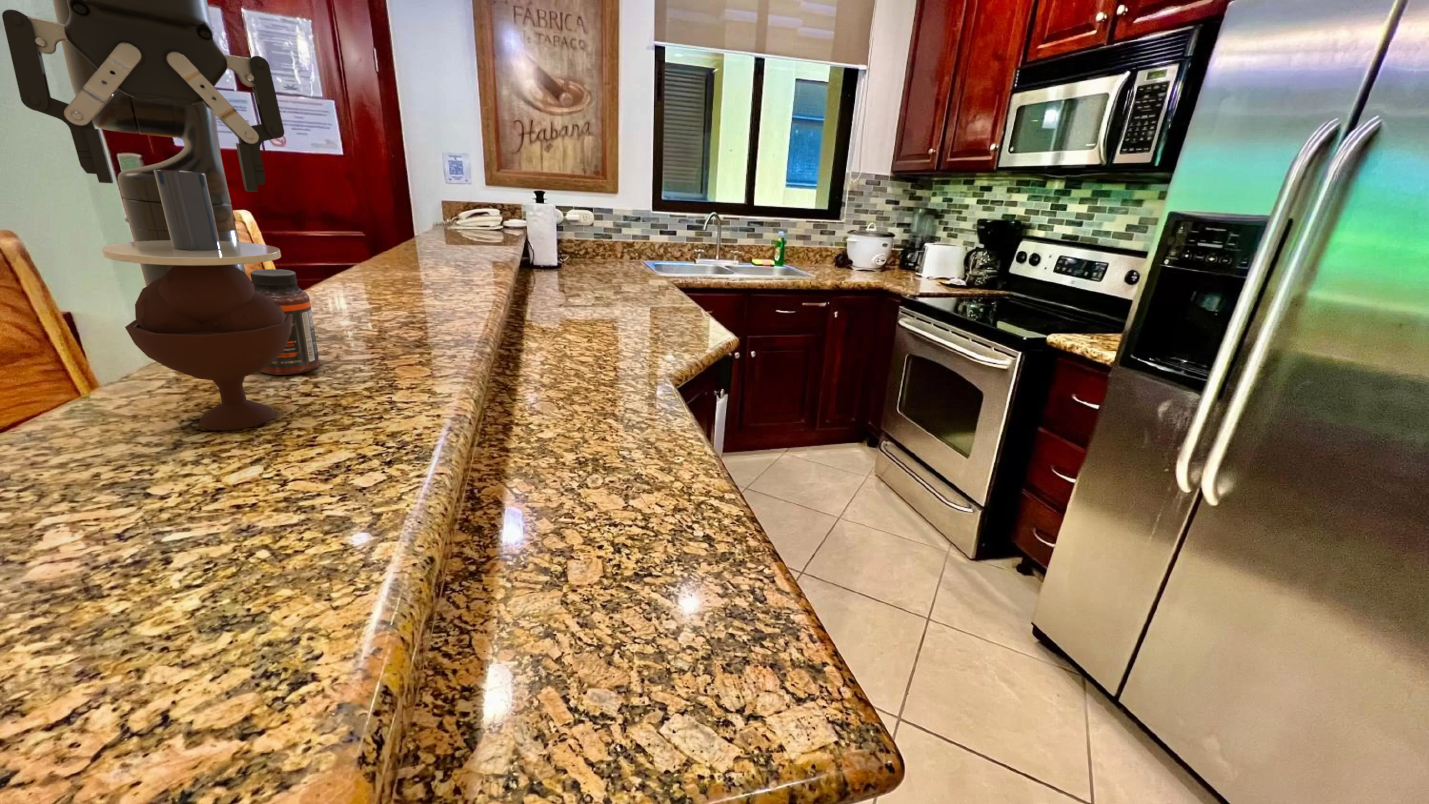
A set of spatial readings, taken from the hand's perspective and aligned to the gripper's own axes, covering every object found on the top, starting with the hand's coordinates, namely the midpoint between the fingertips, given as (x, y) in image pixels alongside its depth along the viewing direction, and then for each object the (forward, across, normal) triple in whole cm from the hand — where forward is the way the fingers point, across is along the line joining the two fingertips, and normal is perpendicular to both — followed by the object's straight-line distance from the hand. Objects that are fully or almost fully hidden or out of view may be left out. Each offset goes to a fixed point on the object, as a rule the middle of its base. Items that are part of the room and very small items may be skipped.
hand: (183, 187), depth 44 cm
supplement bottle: (+21, -6, -14) cm, 26 cm away
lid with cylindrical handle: (+5, 0, 0) cm, 5 cm away
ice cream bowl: (+21, 0, 0) cm, 21 cm away
